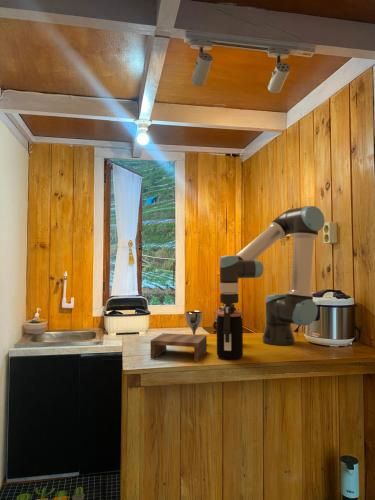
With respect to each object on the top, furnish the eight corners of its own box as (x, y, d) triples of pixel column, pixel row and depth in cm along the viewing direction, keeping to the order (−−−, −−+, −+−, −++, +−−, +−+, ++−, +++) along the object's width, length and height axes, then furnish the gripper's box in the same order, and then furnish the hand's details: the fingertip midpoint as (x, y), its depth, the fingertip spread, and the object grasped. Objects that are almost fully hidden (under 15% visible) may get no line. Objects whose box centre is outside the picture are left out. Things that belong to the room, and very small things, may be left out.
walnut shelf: (206, 351, 161) (206, 335, 162) (198, 361, 146) (198, 343, 146) (162, 348, 166) (162, 333, 167) (150, 357, 151) (150, 340, 151)
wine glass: (202, 342, 181) (202, 311, 181) (201, 345, 173) (201, 313, 173) (186, 341, 182) (186, 310, 182) (184, 345, 174) (184, 313, 174)
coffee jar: (245, 354, 155) (244, 311, 156) (240, 361, 145) (239, 314, 146) (220, 352, 159) (219, 310, 159) (213, 359, 149) (213, 313, 149)
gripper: (224, 290, 165) (225, 340, 164) (215, 295, 143) (215, 353, 142) (241, 290, 163) (242, 341, 162) (234, 295, 141) (235, 354, 140)
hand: (229, 347), depth 152 cm, fingers closed on coffee jar, 11 cm apart
